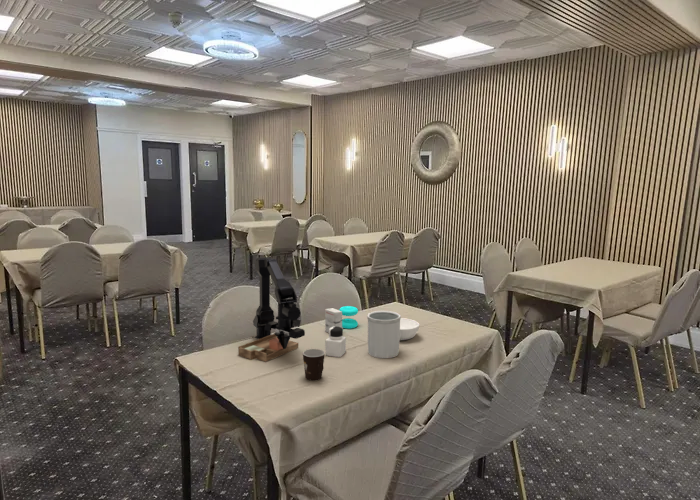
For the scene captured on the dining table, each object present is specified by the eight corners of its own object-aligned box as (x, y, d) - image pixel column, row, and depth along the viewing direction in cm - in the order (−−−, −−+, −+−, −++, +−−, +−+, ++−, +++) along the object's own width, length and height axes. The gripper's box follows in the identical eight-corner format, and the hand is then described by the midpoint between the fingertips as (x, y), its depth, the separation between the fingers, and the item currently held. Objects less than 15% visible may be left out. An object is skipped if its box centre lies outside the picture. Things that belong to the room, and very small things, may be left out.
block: (269, 348, 204) (269, 340, 203) (277, 344, 208) (277, 337, 207) (277, 350, 201) (277, 342, 200) (285, 347, 205) (285, 339, 204)
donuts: (359, 306, 246) (356, 311, 236) (359, 324, 247) (355, 330, 238) (341, 304, 248) (337, 309, 238) (341, 322, 249) (336, 328, 240)
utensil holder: (361, 356, 203) (362, 317, 200) (372, 345, 216) (373, 308, 214) (394, 361, 198) (395, 321, 195) (402, 349, 211) (404, 312, 209)
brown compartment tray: (238, 355, 201) (238, 346, 200) (275, 341, 219) (275, 333, 219) (262, 363, 193) (262, 354, 192) (298, 348, 211) (298, 339, 210)
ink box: (342, 334, 231) (343, 311, 229) (334, 335, 228) (335, 312, 226) (332, 329, 238) (332, 307, 236) (324, 331, 235) (324, 308, 233)
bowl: (376, 340, 223) (377, 326, 222) (388, 329, 240) (388, 316, 239) (413, 346, 216) (414, 331, 215) (422, 334, 233) (423, 320, 232)
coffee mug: (302, 372, 184) (302, 348, 183) (324, 372, 185) (324, 348, 183) (302, 385, 173) (302, 360, 171) (325, 385, 173) (325, 359, 172)
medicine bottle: (345, 352, 207) (346, 326, 205) (340, 357, 200) (340, 331, 199) (331, 349, 209) (331, 324, 208) (325, 355, 203) (325, 329, 201)
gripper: (313, 313, 200) (312, 348, 202) (281, 306, 211) (281, 338, 213) (296, 319, 191) (295, 355, 193) (263, 311, 202) (264, 345, 204)
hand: (284, 348), depth 201 cm, fingers closed
